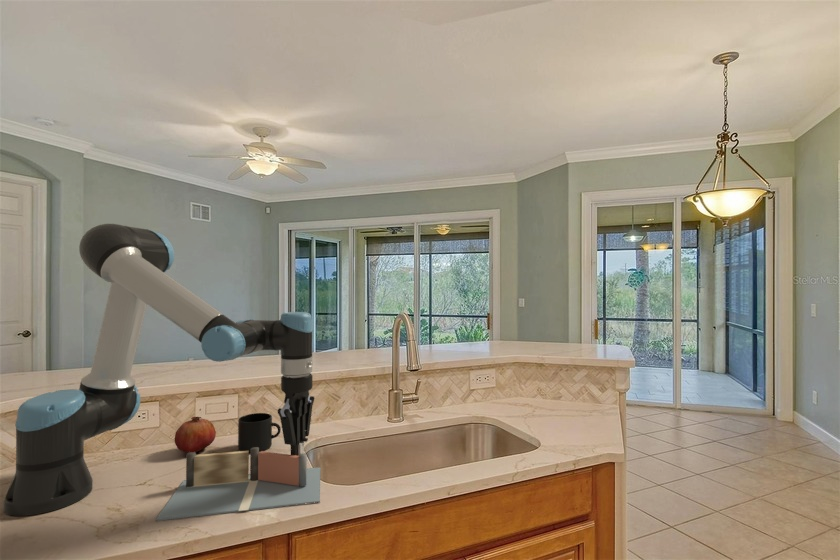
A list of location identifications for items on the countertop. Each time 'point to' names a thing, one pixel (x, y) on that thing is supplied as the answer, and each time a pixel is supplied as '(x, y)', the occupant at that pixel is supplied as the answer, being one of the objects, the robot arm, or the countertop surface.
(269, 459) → the fence panel
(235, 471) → the fence fixed
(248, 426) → the mug
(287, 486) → the mat
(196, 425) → the fruit
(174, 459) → the countertop surface
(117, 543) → the countertop surface
